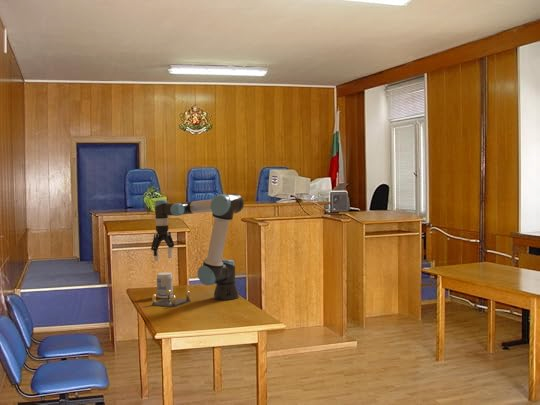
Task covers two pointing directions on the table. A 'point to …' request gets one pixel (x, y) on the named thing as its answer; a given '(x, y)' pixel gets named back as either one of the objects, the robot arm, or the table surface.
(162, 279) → the supplement tub
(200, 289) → the table surface
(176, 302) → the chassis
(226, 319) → the table surface
